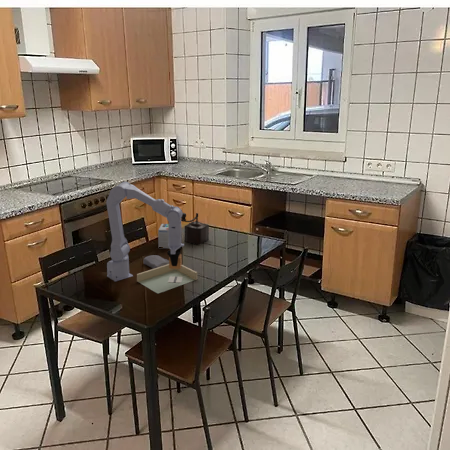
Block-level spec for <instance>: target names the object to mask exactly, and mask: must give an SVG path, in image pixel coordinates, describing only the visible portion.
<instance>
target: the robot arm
mask: <svg viewBox="0 0 450 450" xmlns="http://www.w3.org/2000/svg"><path fill="white" fill-rule="evenodd" d="M125 198H126V200H130V199H136V200H138V201H140V202H142V203H144V204H146V205H148V206H150V207H151V208H152V209H151V210H152V211H154V212H155V213H157V214H159V215H161V216H162V217H164V218H166V220H167V222H168V224H169V225H168V233H169V244H168V246H169V248H168V249H169V250H167V251H166V252H167V255H168V258H169V257H170V260H171V264H172V266H177V263H178V257H179V255H180V254H181V251H182V249H183V247H185V243H182V241H183V239H182V237H183V236H182V235H183V233H182V221H181V217H182V215H183V213H184V212H183V209H182V208H180V207H179V206H175V205H173V204H169V203H167V202H166V201H165V199H163V198H157V199H155V198H153V197H152V196H150V195H149V194H148V193H146V192H144V191H142V190H141V189H139V188H138V187H137V186H135V184H131V183H130V182H128V181H122V182H120V183H119V184H117V185H116V186H113V187H112V188H111V189H110V190H109V194H108V196H107V198H106V201H105V202H106V204H105V205H106V209H107V215H108V221H109V227H110V234H111V244H110V252H109V256H110V258H111V260H109V261H108V262H107V263H106V268H107V269H106V274H107V275H106V277H107V278H109V279H110V280H112V281H113V282H118V281H122V280H124V279H128V278H131V277H134V275H133V274H132V273H130V261H129V260H130V259H129V257H130V256H129V253H130V251H131V247H130V244H129V243H128V240H127V238H126V237H125V232H124V227H123V221H122V220H123V219H122V213H121V208H120V203H122V202H123V200H124V199H125Z"/></svg>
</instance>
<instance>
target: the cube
mask: <svg viewBox="0 0 450 450" xmlns="http://www.w3.org/2000/svg"><path fill="white" fill-rule="evenodd" d="M182 258H183V257H182V253H180V255H179V257H178V263H177V266H172V264H171V260H170V257H169V256H168V260H169V268H171V269H180V268H181V265H183V262H182V260H183V259H182Z"/></svg>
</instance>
